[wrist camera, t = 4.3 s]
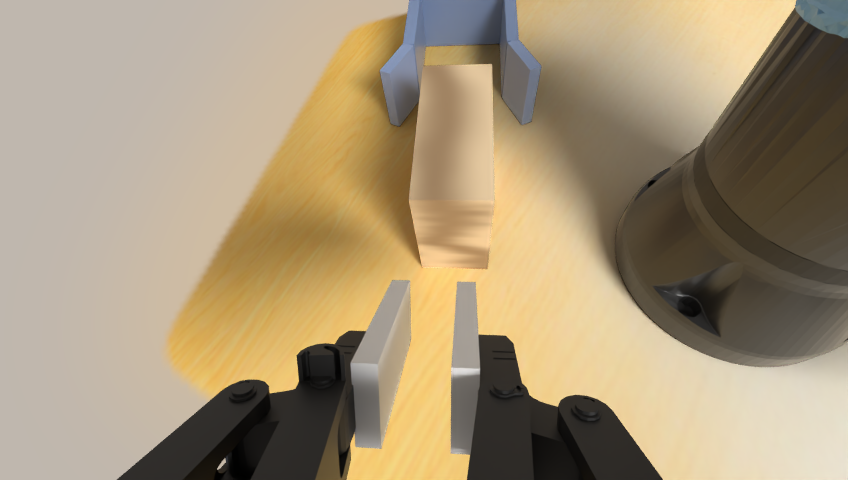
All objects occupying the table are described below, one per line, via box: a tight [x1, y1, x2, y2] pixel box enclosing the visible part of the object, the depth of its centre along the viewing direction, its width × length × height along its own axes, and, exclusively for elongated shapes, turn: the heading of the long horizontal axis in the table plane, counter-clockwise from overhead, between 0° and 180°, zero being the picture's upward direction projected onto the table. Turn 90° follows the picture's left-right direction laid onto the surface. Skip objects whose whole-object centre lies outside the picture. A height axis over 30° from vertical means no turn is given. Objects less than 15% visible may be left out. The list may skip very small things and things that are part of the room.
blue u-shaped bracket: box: [380, 0, 541, 127], centre depth 40 cm, size 13×13×6 cm
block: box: [409, 64, 495, 269], centre depth 31 cm, size 5×12×9 cm, turn 176°
